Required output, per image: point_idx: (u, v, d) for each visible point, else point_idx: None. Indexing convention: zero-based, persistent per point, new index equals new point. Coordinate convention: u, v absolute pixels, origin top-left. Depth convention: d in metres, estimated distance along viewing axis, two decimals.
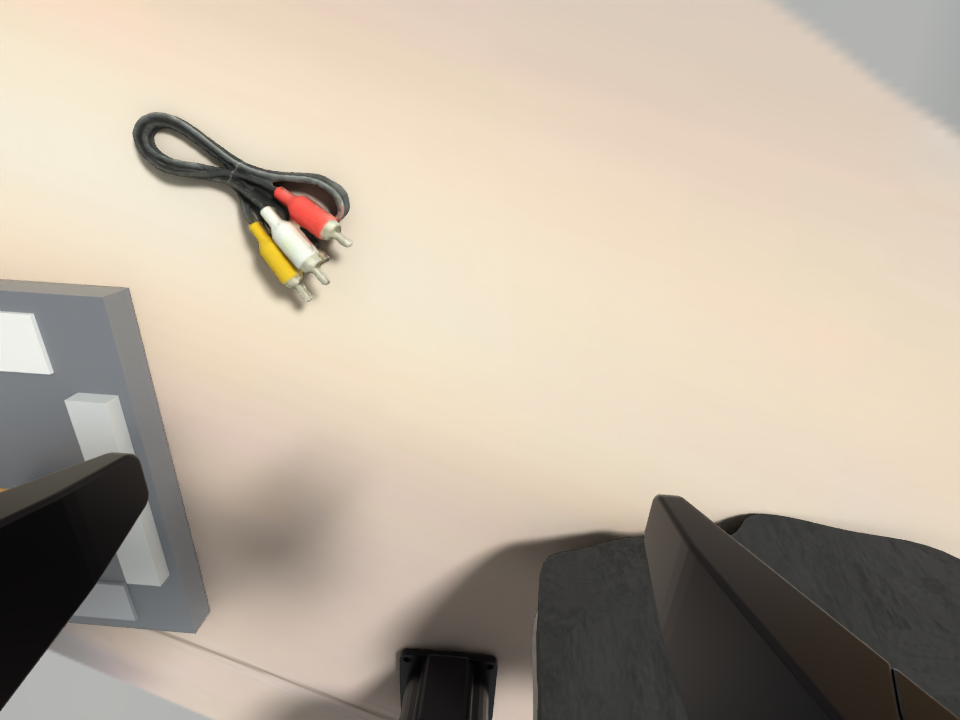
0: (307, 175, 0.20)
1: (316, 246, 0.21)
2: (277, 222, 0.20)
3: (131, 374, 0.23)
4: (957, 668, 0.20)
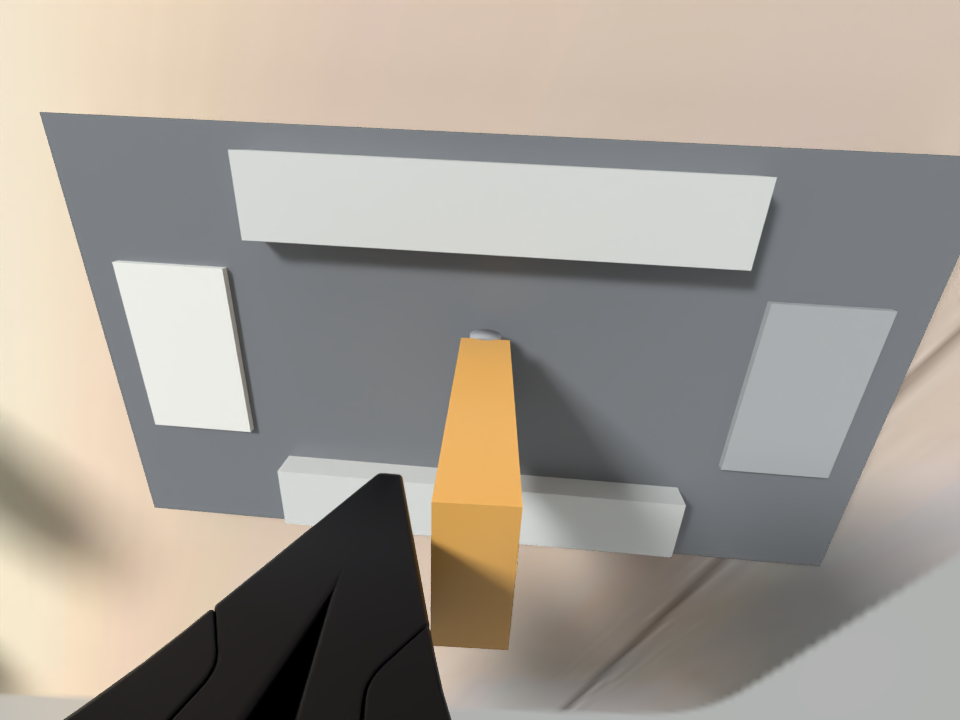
0: None
1: None
2: None
3: None
4: None
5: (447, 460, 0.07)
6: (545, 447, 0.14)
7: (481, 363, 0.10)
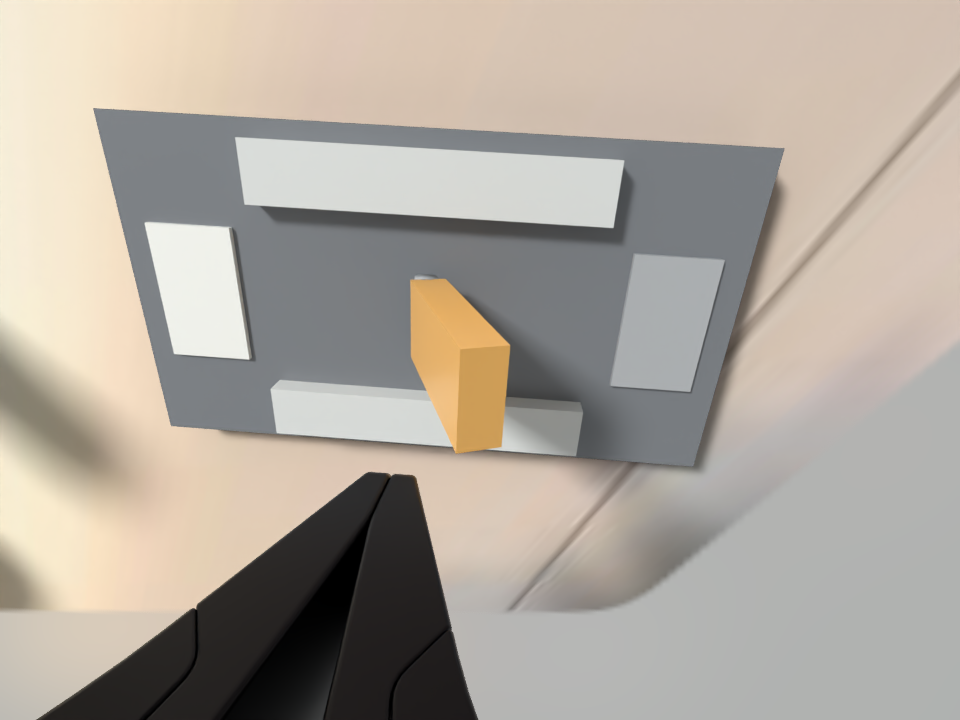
0: None
1: None
2: None
3: None
4: None
5: (454, 334, 0.11)
6: None
7: (437, 291, 0.15)
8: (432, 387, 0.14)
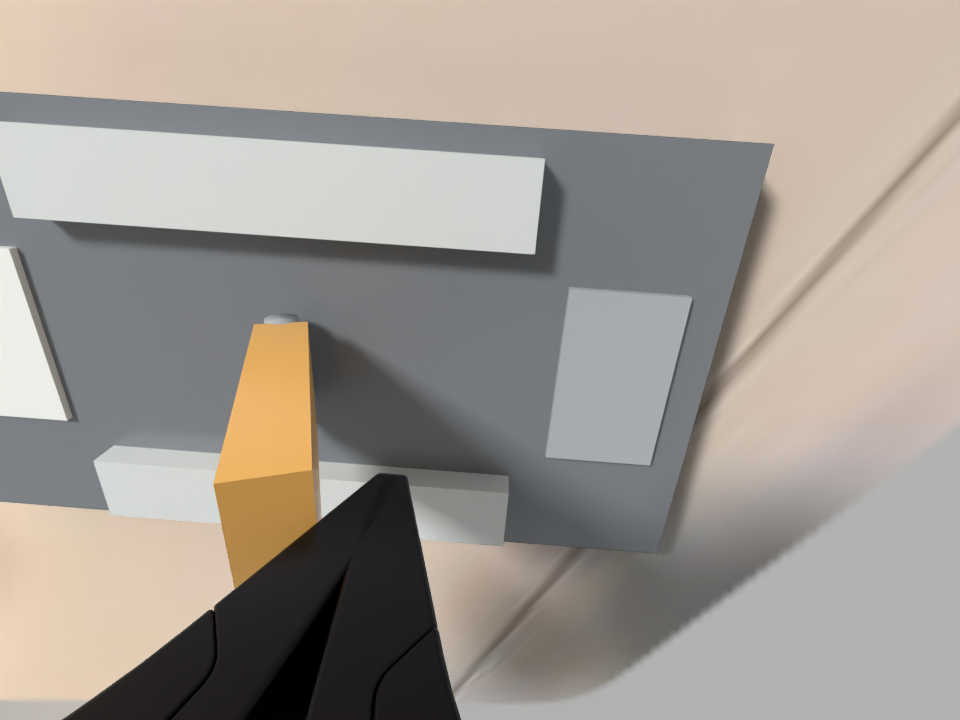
0: None
1: None
2: None
3: None
4: None
5: (233, 442, 0.07)
6: (372, 435, 0.14)
7: (275, 346, 0.10)
8: None
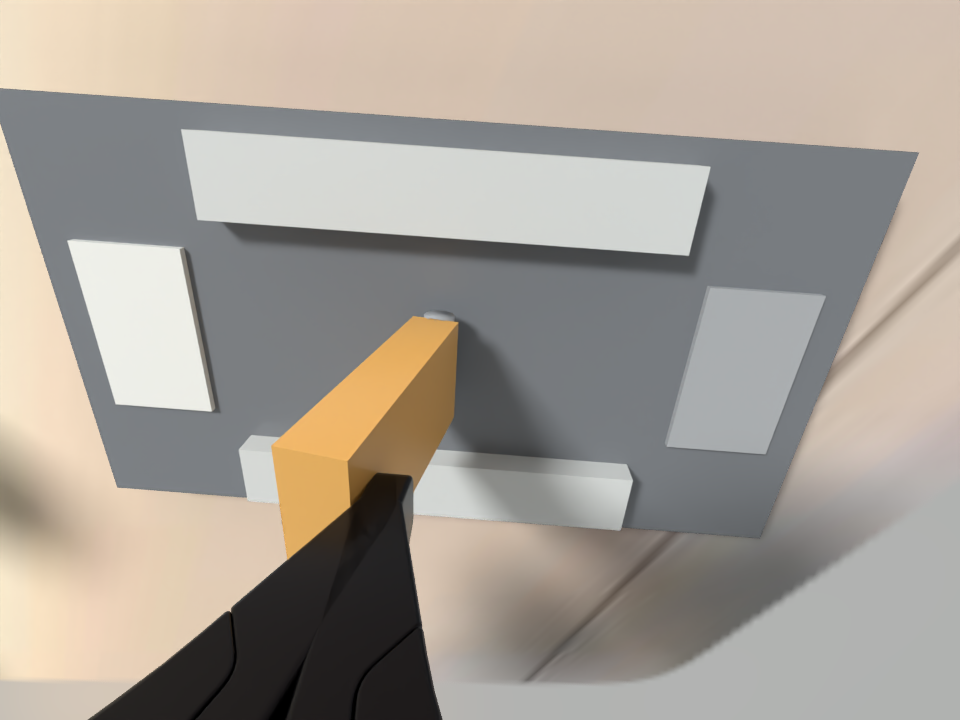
0: None
1: None
2: None
3: None
4: None
5: (313, 415, 0.08)
6: (501, 426, 0.15)
7: (413, 339, 0.11)
8: None
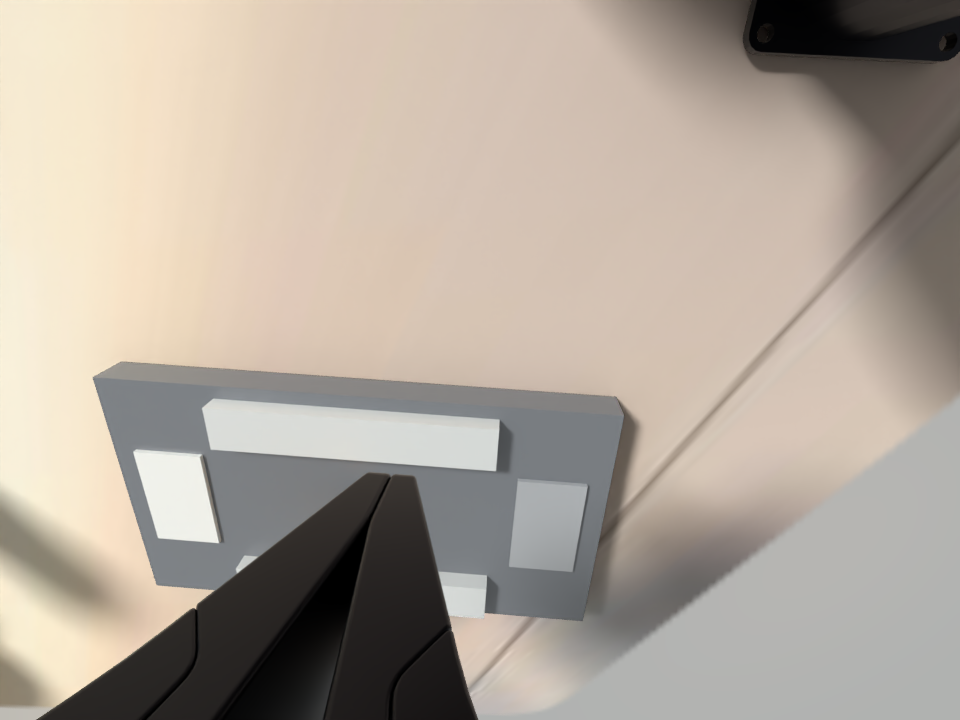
0: None
1: None
2: None
3: (193, 379, 0.20)
4: None
5: None
6: None
7: None
8: None
